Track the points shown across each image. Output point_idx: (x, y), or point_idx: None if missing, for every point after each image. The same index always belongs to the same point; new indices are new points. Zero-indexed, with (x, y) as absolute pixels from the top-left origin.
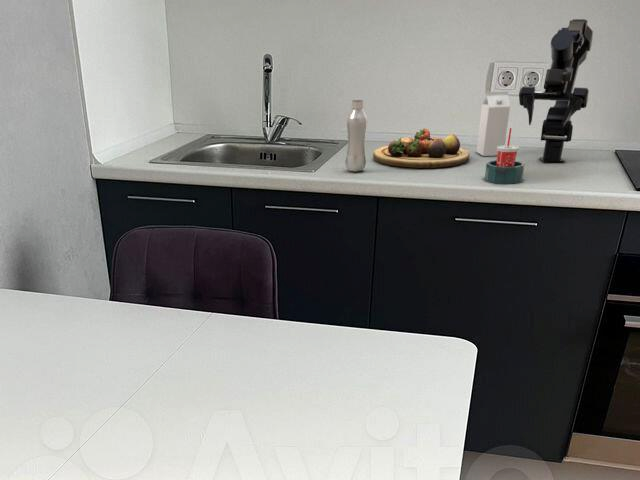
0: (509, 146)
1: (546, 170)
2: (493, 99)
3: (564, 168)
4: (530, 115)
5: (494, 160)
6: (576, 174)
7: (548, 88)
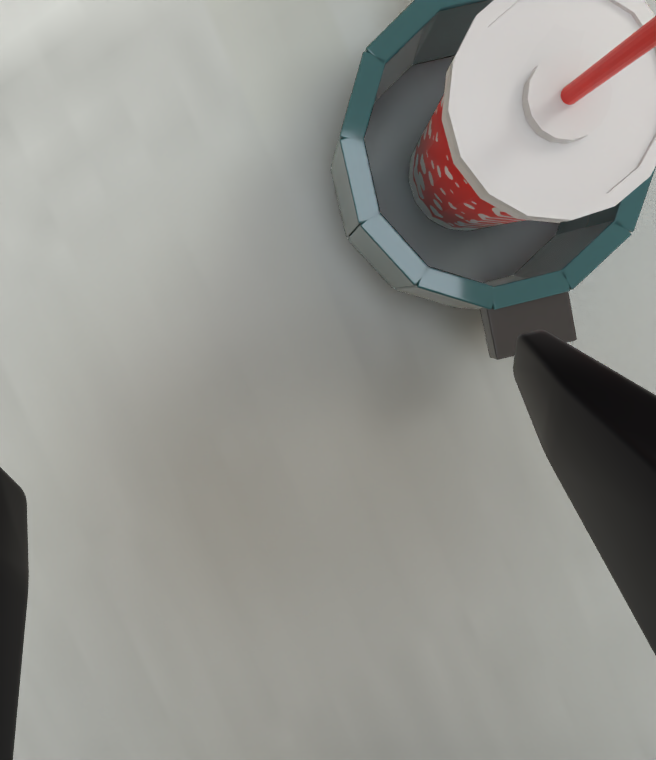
0: (552, 94)
1: (331, 615)
2: None
3: (256, 735)
4: (613, 403)
5: (633, 220)
6: (112, 611)
7: None
